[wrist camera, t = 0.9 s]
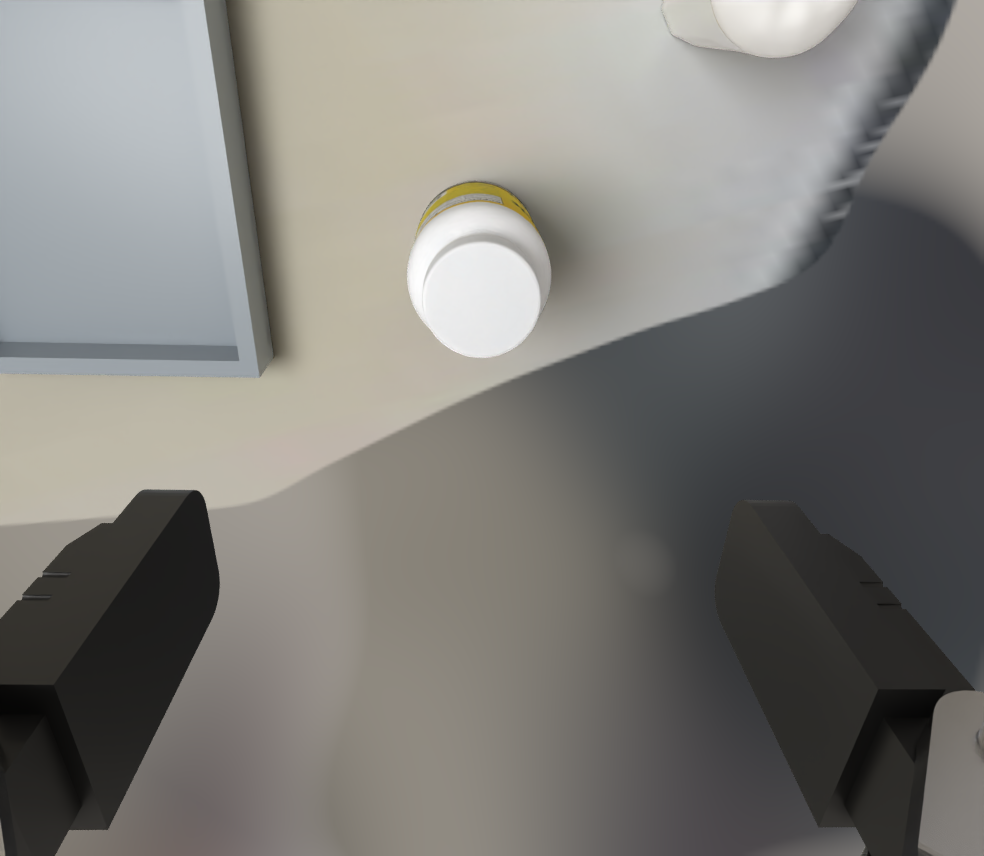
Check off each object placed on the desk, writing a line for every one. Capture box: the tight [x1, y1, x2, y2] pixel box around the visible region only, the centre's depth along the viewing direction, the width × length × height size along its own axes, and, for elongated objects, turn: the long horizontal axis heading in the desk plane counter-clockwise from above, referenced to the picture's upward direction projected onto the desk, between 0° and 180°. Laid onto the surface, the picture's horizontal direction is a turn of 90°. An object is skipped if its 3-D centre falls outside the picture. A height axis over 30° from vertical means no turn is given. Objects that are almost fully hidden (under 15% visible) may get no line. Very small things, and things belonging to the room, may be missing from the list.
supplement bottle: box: [407, 181, 551, 358], centre depth 26 cm, size 5×5×10 cm
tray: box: [0, 0, 274, 378], centre depth 27 cm, size 16×14×2 cm
